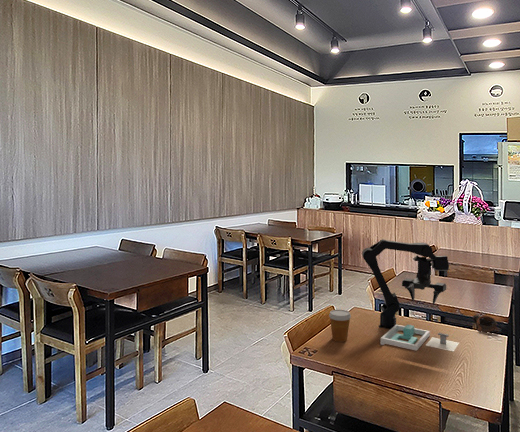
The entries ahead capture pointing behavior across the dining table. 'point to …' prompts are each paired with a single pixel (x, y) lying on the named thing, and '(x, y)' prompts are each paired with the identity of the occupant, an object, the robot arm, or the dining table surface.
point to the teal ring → (406, 335)
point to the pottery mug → (485, 323)
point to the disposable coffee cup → (339, 324)
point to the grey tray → (387, 340)
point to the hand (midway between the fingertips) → (423, 303)
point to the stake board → (446, 347)
